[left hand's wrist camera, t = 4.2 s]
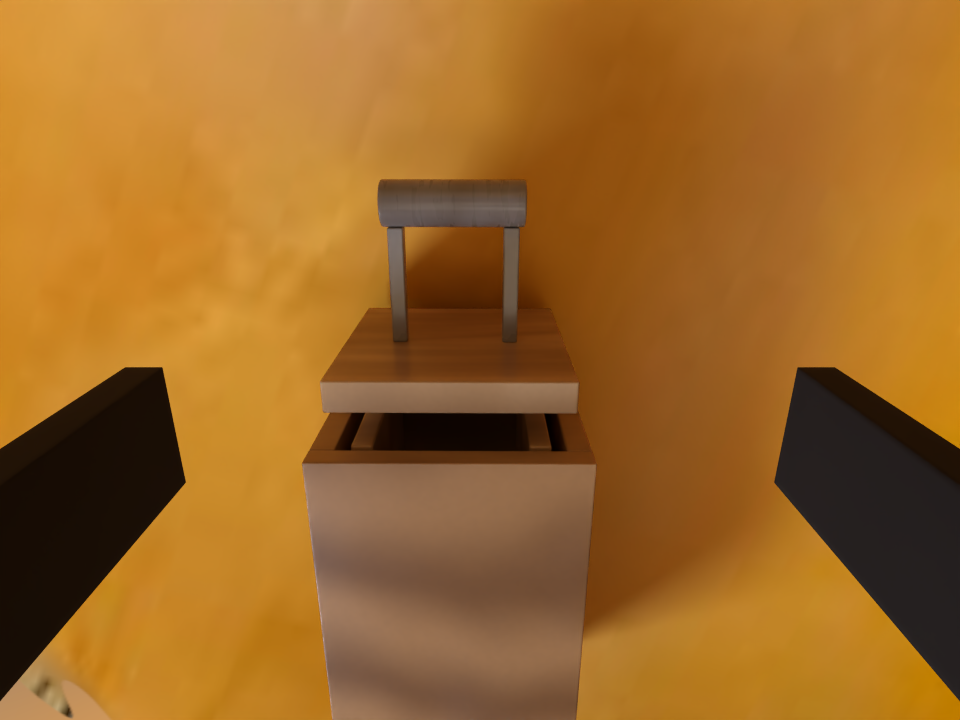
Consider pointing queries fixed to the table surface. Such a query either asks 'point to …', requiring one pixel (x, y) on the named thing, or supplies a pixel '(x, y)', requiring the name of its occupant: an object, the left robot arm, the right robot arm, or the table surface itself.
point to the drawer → (452, 342)
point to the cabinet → (451, 575)
